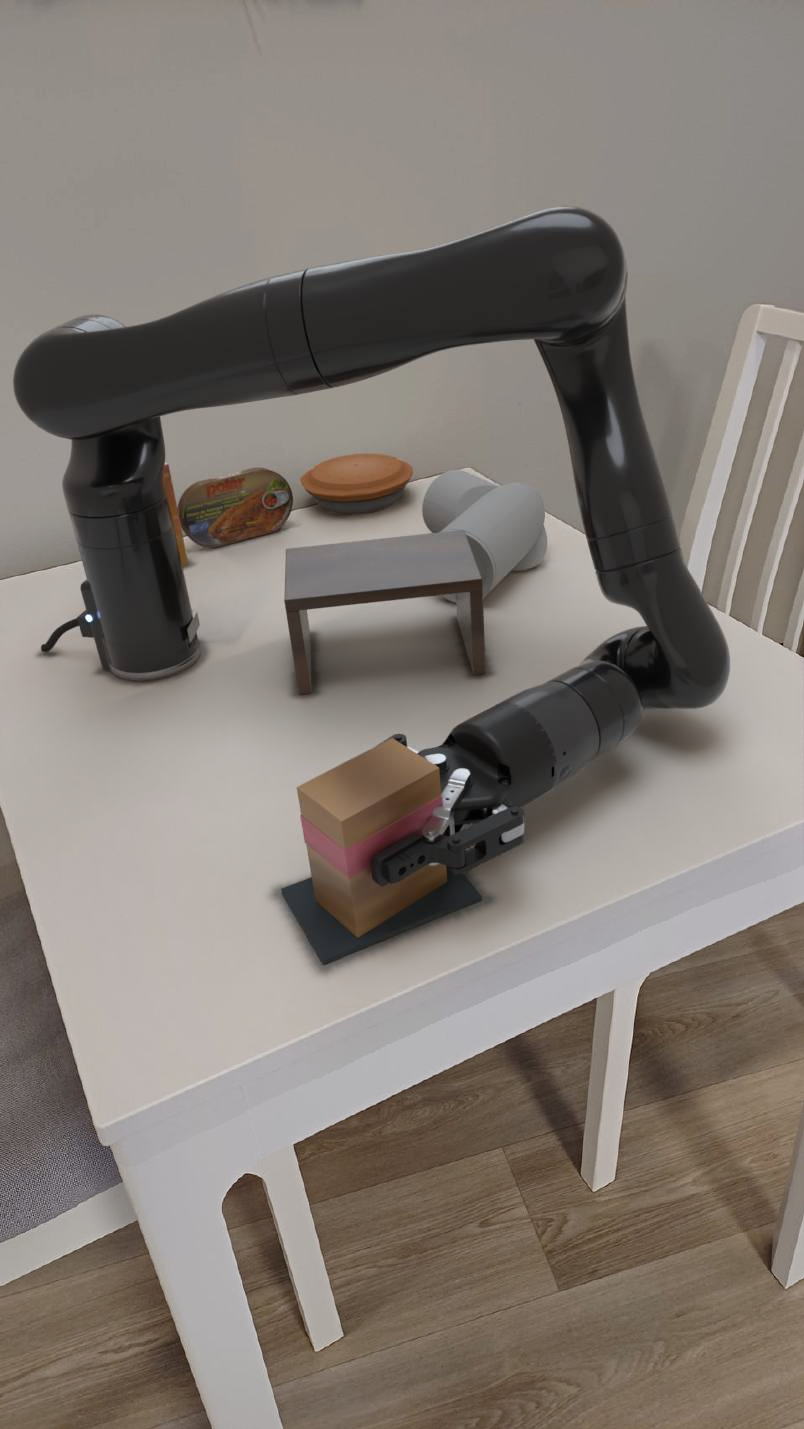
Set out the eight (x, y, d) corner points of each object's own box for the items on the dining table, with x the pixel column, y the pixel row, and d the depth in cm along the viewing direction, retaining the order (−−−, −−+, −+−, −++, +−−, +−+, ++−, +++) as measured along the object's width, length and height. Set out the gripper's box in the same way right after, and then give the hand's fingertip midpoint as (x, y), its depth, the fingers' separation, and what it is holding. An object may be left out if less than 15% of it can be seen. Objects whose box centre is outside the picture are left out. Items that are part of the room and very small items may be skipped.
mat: (323, 964, 65) (322, 960, 65) (281, 892, 71) (280, 888, 71) (482, 899, 69) (481, 895, 69) (429, 836, 75) (429, 832, 75)
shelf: (486, 674, 95) (482, 578, 90) (299, 695, 95) (284, 600, 89) (468, 618, 105) (464, 529, 100) (299, 636, 105) (285, 548, 99)
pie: (372, 473, 147) (369, 439, 144) (437, 498, 136) (435, 462, 133) (283, 501, 140) (278, 467, 137) (344, 530, 129) (340, 493, 126)
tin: (188, 555, 126) (175, 491, 121) (181, 547, 128) (168, 484, 124) (298, 526, 131) (289, 464, 127) (289, 519, 134) (280, 458, 129)
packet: (357, 939, 66) (340, 822, 61) (314, 900, 70) (295, 786, 64) (448, 881, 70) (440, 767, 65) (403, 848, 74) (392, 737, 68)
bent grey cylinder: (598, 561, 111) (493, 512, 126) (584, 477, 105) (475, 436, 120) (473, 639, 107) (379, 579, 121) (451, 556, 100) (354, 503, 115)
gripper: (457, 670, 77) (276, 758, 69) (598, 743, 67) (407, 857, 59) (461, 749, 81) (291, 842, 73) (595, 829, 71) (416, 947, 63)
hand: (344, 848), depth 66 cm, fingers open, 6 cm apart
